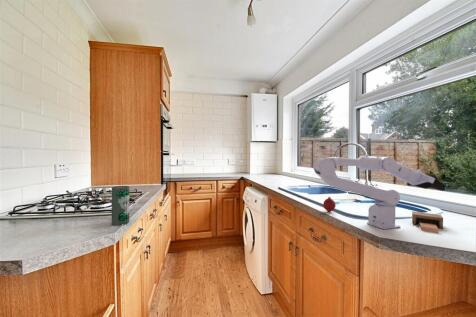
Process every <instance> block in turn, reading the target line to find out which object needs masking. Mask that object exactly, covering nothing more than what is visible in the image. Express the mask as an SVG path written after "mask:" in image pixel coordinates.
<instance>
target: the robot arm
mask: <svg viewBox="0 0 476 317" xmlns="http://www.w3.org/2000/svg"><path fill="white" fill-rule="evenodd" d="M340 166H346V167H347V166H349V167H357V168H358V169H359V170H362V171H363V170H364V171H380V172H384V173H387V174H389V175H391V176H392V177H394V178H397V179H398V180H401V181H403V182H405V183H406V185H407V187H409V186H410V187H418V188H422V189H426V190H427V189H434V190H439V191H445V189H446V185H445V184H444V183H443V182H442V181H440V179H438V177H437V175H435V174H430V175H426V174H425V173H423V172H422V169H419V168H417V169H416V170H415V169H413V168H411V167H408V166H406V165H404V164H402V163H400V162H398V161H396V160H395V158H393V157H389V156H387V157H386V156H385V157H384V156H381V155H376V156H370V155H369V154H364V155H361V156H359V157H358V158H354V157H353V158H352V157H351V158H350V157H341V156H331V157H330V156H329V157H324V158H323V157H317V158H315V159H314V160H313V161H312V168H313V172H314V173H315V175H317V177H319V178H320V180H322V181H323V182H324V183H325V185H327V186H330V187H333V188H337V189H340V190H343V191H347V192H351V193H355V194H357V195H362V196H365V197H369V198H372V199H373V200H374V204H372V205H370V206H369V207H368V215H367V216H368V220H367V221H366V224H368V225H369V226H370V225H371V226H373V227H376V228H378V229H382V230H387V229H397V228H401V225H398V224H396V206H397V204H399V202H400V201H401V200H400V199H401V195H400V193H399V192H398V191H397V190H395V189H389V188H385V187H382V186H375V187H374V186H371V185H368V184H364V183H361V182H356V181H353V180H349V179H345V178H342V177H339V176H338V175H337V173H336V169H338V168H339V167H340Z"/></svg>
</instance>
